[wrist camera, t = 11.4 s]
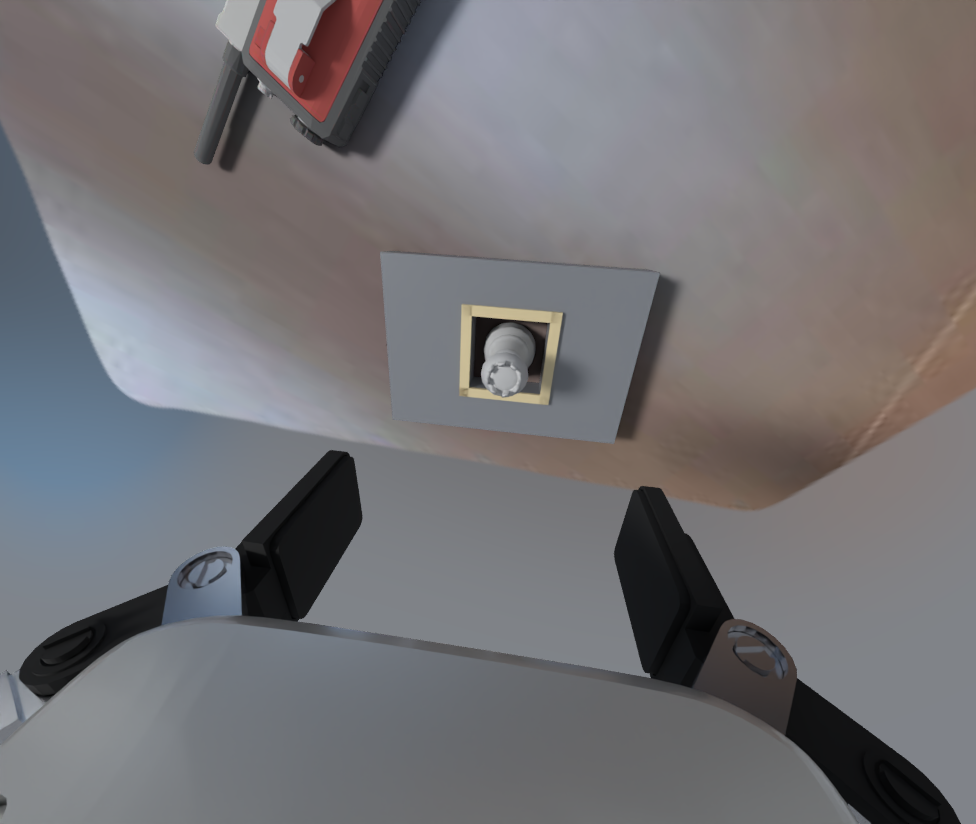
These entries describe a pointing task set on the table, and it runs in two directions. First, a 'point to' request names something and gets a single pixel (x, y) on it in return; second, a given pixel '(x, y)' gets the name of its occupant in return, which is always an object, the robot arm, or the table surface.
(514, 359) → the rook chess piece
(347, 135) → the red gray switch box
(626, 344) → the socket board
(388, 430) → the table surface
